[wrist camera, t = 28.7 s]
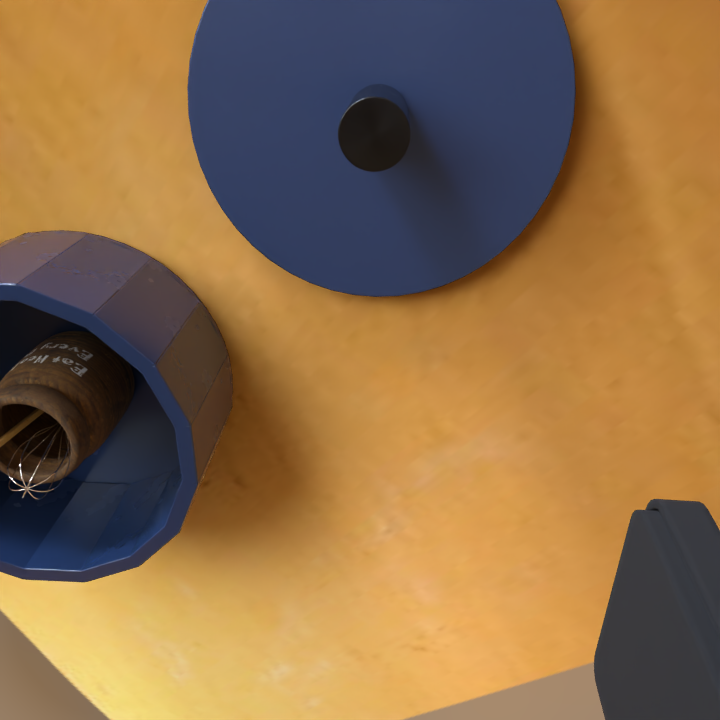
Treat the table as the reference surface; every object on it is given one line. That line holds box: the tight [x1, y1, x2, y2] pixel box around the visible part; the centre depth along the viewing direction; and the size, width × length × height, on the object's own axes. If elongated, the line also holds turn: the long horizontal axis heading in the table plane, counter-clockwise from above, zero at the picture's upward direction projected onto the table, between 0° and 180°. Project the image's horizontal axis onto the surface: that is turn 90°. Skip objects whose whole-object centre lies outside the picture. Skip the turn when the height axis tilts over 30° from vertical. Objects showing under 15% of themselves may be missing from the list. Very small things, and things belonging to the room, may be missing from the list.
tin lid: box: [188, 0, 576, 297], centre depth 29 cm, size 18×18×7 cm
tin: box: [0, 230, 233, 582], centre depth 36 cm, size 17×17×8 cm
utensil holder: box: [0, 331, 135, 499], centre depth 34 cm, size 6×6×12 cm
